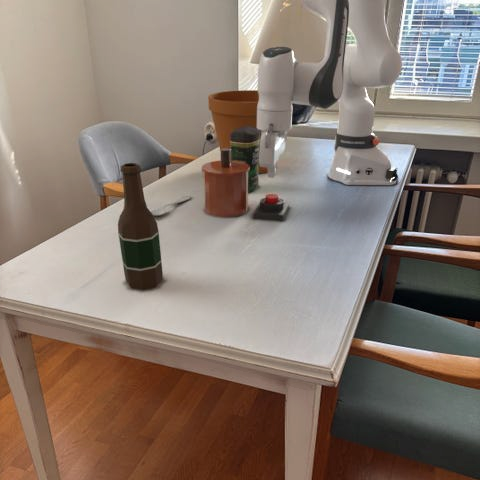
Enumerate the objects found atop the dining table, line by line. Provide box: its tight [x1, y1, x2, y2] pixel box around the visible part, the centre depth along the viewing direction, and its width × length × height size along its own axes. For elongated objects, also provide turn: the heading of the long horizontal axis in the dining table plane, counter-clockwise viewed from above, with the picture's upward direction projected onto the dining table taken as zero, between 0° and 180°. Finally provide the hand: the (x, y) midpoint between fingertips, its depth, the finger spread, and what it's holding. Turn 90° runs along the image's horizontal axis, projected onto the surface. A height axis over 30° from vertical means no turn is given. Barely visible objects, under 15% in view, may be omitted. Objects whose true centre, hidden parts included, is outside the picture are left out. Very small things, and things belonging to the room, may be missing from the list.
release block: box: [253, 197, 290, 222], centre depth 134 cm, size 11×8×4 cm
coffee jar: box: [230, 126, 260, 193], centre depth 148 cm, size 10×8×19 cm
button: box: [265, 193, 280, 204], centre depth 133 cm, size 4×4×2 cm
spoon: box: [150, 196, 191, 217], centre depth 138 cm, size 4×21×2 cm, turn 155°
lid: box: [201, 148, 250, 176], centre depth 130 cm, size 13×13×6 cm
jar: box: [202, 171, 249, 218], centre depth 134 cm, size 12×12×12 cm
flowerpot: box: [207, 89, 268, 174], centre depth 169 cm, size 28×28×24 cm
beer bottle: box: [117, 162, 164, 291], centre depth 94 cm, size 8×8×24 cm
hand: (271, 176), depth 129 cm, fingers closed
